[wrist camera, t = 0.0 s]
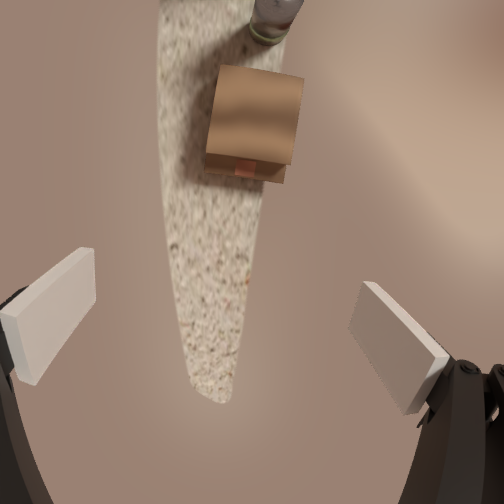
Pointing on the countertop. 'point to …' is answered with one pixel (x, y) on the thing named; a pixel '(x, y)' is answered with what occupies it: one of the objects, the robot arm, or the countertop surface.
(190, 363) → the countertop surface
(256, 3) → the column
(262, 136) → the step block
